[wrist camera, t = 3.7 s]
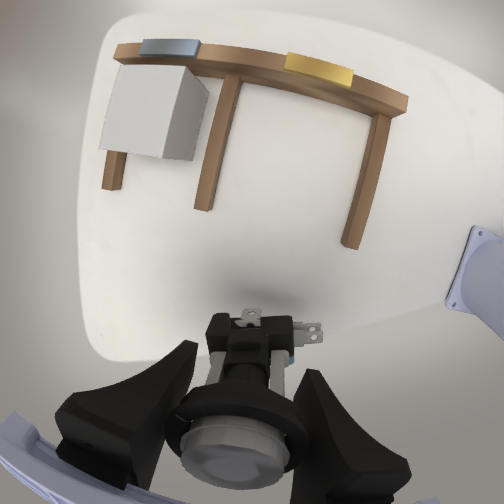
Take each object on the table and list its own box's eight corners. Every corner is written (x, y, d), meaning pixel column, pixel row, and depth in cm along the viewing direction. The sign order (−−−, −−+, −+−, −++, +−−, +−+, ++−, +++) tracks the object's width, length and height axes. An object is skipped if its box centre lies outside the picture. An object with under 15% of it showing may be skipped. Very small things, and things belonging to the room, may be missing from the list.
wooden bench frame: (386, 107, 18) (412, 94, 13) (352, 245, 21) (370, 264, 16) (140, 60, 18) (113, 41, 13) (111, 187, 21) (78, 192, 17)
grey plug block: (209, 92, 19) (185, 66, 13) (192, 160, 20) (161, 158, 14) (156, 87, 19) (119, 65, 13) (140, 151, 20) (98, 148, 14)
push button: (319, 284, 16) (362, 419, 6) (318, 359, 17) (339, 493, 8) (205, 291, 17) (133, 416, 7) (218, 362, 18) (179, 490, 8)
